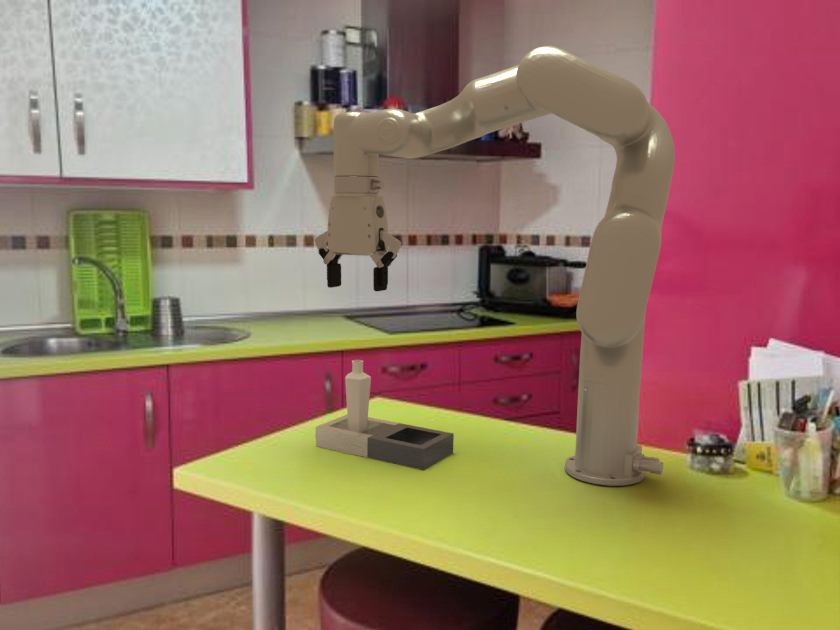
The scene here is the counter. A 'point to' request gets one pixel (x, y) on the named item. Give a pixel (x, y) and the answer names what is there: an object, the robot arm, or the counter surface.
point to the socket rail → (387, 442)
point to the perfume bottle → (357, 397)
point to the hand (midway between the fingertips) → (356, 288)
